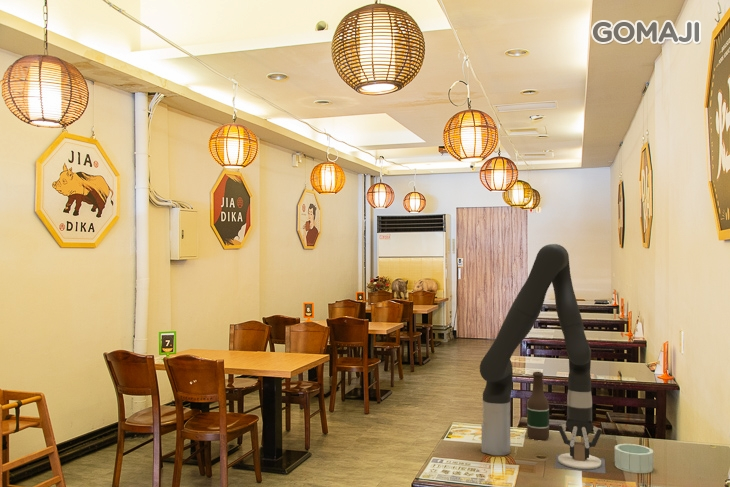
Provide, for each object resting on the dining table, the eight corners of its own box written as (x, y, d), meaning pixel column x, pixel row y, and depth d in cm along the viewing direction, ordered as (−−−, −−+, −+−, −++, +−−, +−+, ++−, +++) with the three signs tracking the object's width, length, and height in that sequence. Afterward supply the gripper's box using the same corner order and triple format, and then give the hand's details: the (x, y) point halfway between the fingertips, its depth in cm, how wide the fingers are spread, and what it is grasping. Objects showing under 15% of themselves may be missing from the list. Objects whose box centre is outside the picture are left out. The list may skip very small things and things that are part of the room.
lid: (557, 466, 197) (557, 447, 197) (559, 454, 210) (559, 436, 210) (601, 471, 193) (601, 451, 193) (600, 458, 205) (600, 440, 205)
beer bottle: (550, 441, 226) (549, 374, 227) (527, 440, 228) (527, 373, 228) (548, 435, 234) (548, 370, 234) (526, 434, 235) (526, 370, 236)
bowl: (615, 471, 194) (615, 452, 194) (614, 461, 205) (614, 442, 205) (654, 476, 190) (654, 456, 191) (651, 464, 201) (651, 446, 201)
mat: (554, 469, 197) (554, 467, 197) (556, 454, 211) (556, 453, 211) (605, 474, 191) (605, 473, 191) (604, 459, 206) (604, 458, 206)
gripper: (556, 404, 200) (556, 459, 200) (603, 408, 196) (603, 464, 195) (557, 399, 208) (557, 452, 207) (602, 403, 203) (602, 457, 202)
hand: (579, 458), depth 201 cm, fingers closed on lid, 3 cm apart
